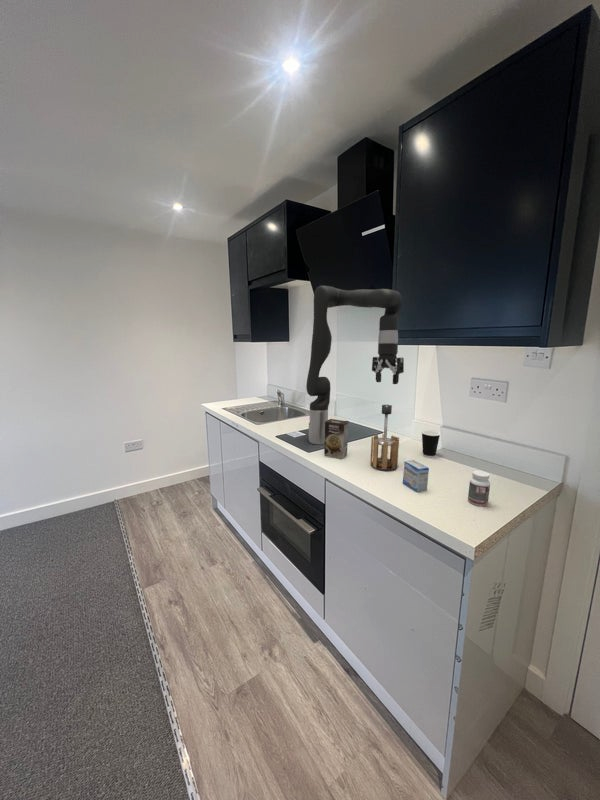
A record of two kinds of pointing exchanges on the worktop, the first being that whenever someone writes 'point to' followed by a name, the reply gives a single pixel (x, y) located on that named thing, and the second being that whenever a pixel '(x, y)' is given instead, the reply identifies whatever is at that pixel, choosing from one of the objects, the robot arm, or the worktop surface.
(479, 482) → the pill bottle
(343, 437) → the coffee box
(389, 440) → the plunger
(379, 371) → the robot arm
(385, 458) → the press carafe
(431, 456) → the dixie cup
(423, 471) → the medicine box
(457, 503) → the worktop surface
